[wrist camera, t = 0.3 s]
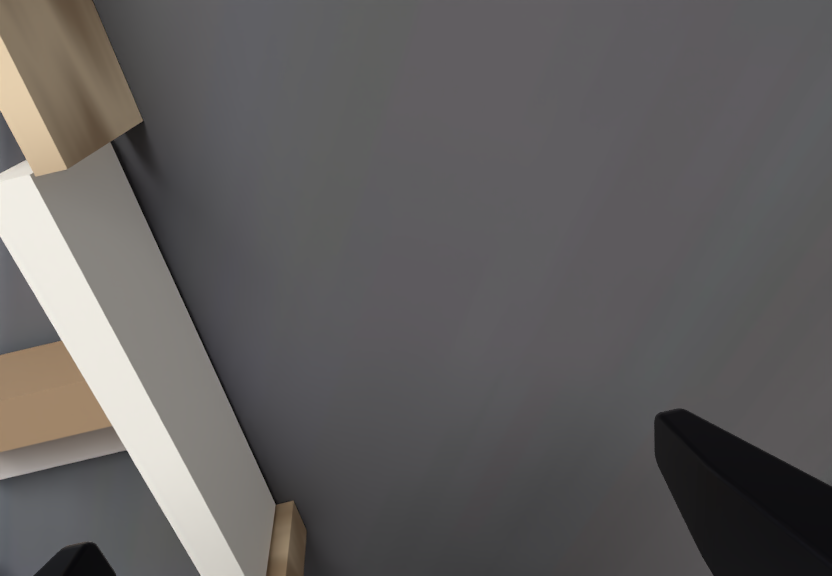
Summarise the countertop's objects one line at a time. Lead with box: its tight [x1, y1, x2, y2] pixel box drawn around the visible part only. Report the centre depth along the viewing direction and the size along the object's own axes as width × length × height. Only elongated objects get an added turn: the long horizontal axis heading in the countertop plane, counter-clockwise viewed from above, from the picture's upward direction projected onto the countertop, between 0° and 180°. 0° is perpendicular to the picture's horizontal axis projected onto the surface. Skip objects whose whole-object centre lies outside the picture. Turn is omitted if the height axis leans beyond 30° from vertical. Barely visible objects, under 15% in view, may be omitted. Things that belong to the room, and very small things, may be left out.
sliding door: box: [0, 142, 276, 576], centre depth 21 cm, size 18×9×5 cm, turn 12°
